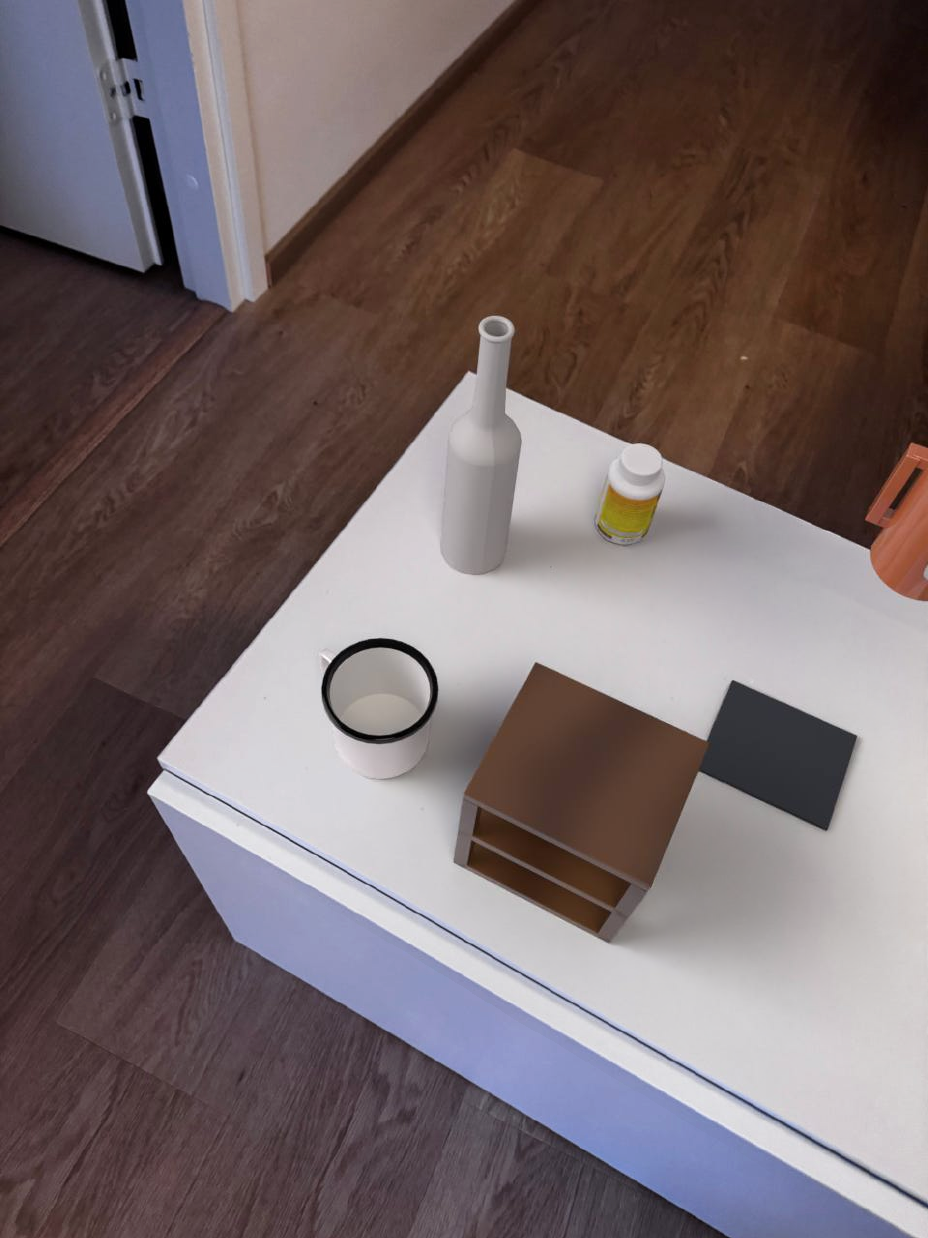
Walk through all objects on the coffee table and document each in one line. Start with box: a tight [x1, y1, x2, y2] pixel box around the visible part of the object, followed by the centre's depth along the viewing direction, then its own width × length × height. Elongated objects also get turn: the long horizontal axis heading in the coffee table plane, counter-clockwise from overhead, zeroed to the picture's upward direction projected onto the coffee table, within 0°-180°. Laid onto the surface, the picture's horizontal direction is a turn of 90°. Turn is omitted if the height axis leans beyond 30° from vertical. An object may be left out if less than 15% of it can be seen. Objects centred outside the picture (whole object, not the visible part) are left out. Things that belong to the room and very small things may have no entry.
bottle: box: [439, 315, 523, 575], centre depth 85 cm, size 7×7×28 cm
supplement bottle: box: [594, 442, 666, 546], centre depth 95 cm, size 6×6×10 cm
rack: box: [452, 661, 709, 944], centre depth 75 cm, size 14×12×15 cm
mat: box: [698, 679, 858, 832], centre depth 87 cm, size 12×10×1 cm
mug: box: [318, 637, 440, 780], centre depth 82 cm, size 12×10×9 cm
